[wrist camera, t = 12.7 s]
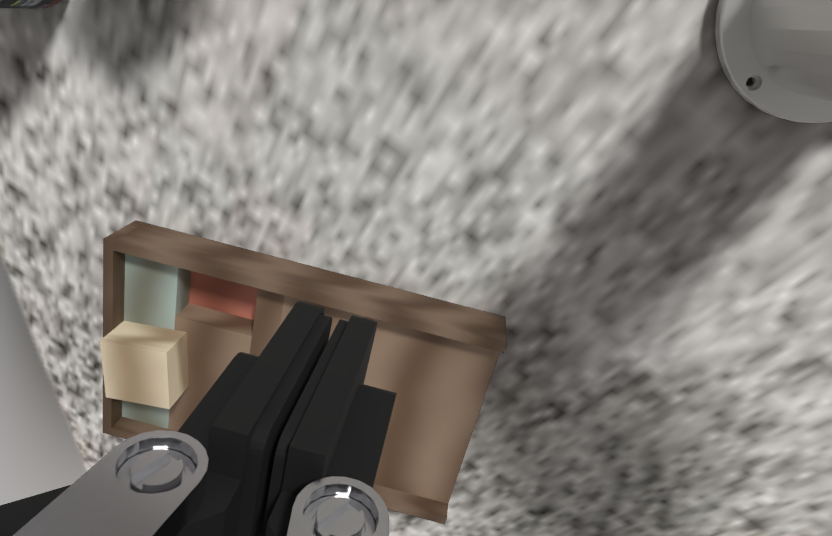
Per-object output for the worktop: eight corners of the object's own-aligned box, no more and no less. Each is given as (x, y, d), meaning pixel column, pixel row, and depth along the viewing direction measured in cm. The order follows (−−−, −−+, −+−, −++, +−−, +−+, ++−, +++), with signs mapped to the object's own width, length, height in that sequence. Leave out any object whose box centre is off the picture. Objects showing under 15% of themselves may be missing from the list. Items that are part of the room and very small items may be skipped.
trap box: (505, 317, 43) (506, 344, 40) (447, 487, 50) (444, 524, 47) (135, 220, 44) (103, 238, 40) (130, 402, 51) (102, 432, 47)
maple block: (186, 332, 44) (166, 352, 42) (188, 386, 46) (169, 409, 44) (124, 320, 45) (99, 340, 42) (128, 375, 47) (105, 397, 44)
